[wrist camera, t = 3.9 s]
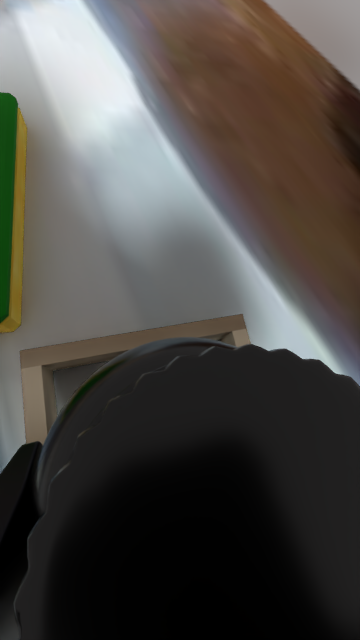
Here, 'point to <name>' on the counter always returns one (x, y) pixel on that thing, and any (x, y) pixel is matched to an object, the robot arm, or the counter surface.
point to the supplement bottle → (198, 501)
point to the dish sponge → (11, 210)
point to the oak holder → (55, 357)
